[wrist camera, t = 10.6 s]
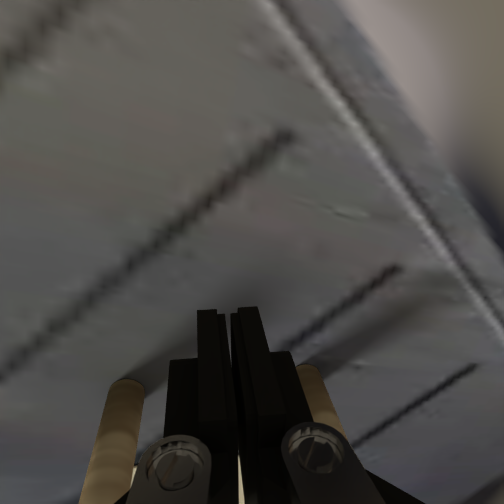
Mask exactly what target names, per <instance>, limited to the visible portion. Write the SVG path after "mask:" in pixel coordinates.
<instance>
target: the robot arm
mask: <svg viewBox="0 0 504 504" xmlns="http://www.w3.org/2000/svg"><path fill="white" fill-rule="evenodd" d="M230 317H231V360H230V352H229V344H228V337H227V329H226V321H225V314H217V309H210V310H197V342H198V358H192V359H179V360H170V365H169V377H168V389H167V401H166V413H165V425H164V437H163V439H160V440H158V441H157V442H155V443H154V444H152V445H151V446H150V447H149V448H148V449H147V450H146V451H145V452H144V453H143V455H142V457H141V459H140V461H139V463H138V466H137V469H136V472H135V475H134V478H133V482H132V485H131V488H130V490H129V491H127V492H126V493H125V494H124V495H123V496H122V497H121V498H120V499H118V500H117V501H116V502H115V503H114V504H239V472H238V450H239V459H240V468H241V476H242V485H243V493H244V502H245V504H425V503H423V502H422V501H420V500H418V499H416V498H415V497H413V496H411V495H409V494H408V493H406V492H404V491H402V490H401V489H399V488H397V487H395V486H394V485H392V484H390V483H388V482H387V481H385V480H383V479H381V478H380V477H378V476H376V475H374V474H373V473H371V472H369V471H367V470H366V469H365V468H364V467H363V465H362V464H361V462H360V460H359V459H358V457H357V455H356V454H355V452H354V450H353V449H352V447H351V445H350V444H349V442H348V441H347V439H346V438H345V437H344V436H343V435H342V433H340V432H339V431H338V430H336V429H335V428H333V427H331V426H329V425H326V424H324V423H318V422H314V420H313V417H312V414H311V411H310V408H309V405H308V402H307V399H306V397H305V394H304V391H303V388H302V385H301V382H300V379H299V376H298V373H297V370H296V367H295V364H294V361H293V359H292V356H291V353H290V352H289V351H282V352H270V351H269V347H268V344H267V340H266V336H265V332H264V329H263V325H262V321H261V318H260V314H259V310H258V307H257V306H256V307H241V308H238V313H231V316H230ZM231 366H232V368H231Z"/></svg>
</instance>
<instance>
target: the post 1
mask: <svg viewBox="0 0 504 504" xmlns="http://www.w3.org/2000/svg"><path fill="white" fill-rule="evenodd" d="M144 396H145V390H144V388H143V386H142V385H141V384H140V383H139V382H137V381H135V380H131V379H123V380H119V381H117V382H115V383H114V384H112V385H111V387H110V389H109V392H108V396H107V400H106V403H105V407H104V411H103V415H102V418H101V422H100V426H99V430H98V433H97V437H96V441H95V445H94V448H93V452H92V456H91V459H90V463H89V467H88V471H87V474H86V478H85V482H84V486H83V489H82V493H81V497H80V501H79V504H114V503H115V502H116V501H117V500H118V499H120V498H121V497H122V496H123V495H124V494H125V493H126V492H127V491H129V490H130V487H131V481H132V474H133V468H134V461H135V455H136V448H137V442H138V435H139V429H140V422H141V416H142V409H143V403H144Z"/></svg>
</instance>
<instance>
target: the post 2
mask: <svg viewBox="0 0 504 504" xmlns="http://www.w3.org/2000/svg"><path fill="white" fill-rule="evenodd" d="M296 370H297V373H298V376H299V379H300V382H301V385H302V388H303V391H304V394H305V397H306V399H307V402H308V405H309V408H310V411H311V414H312V417H313V420H314V422H318V423H324V424H326V425H329V426H331V427H333V428H335V429H336V430H338V431H339V432H340V433H342V435H343V436H344V437H345V438H346V439H347V437H346V435H345V433H344V430H343V428H342V425H341V423H340V420H339V418H338V416H337V413H336V411H335V408H334V406H333V404H332V401H331V399H330V396H329V394H328V392H327V389H326V387H325V384H324V382H323V380H322V377H321V375H320V372H319V370H318V369H317V368H316V367H315V366H312V365H308V364H304V365H300V366H297V367H296ZM347 441H348V440H347Z"/></svg>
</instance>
